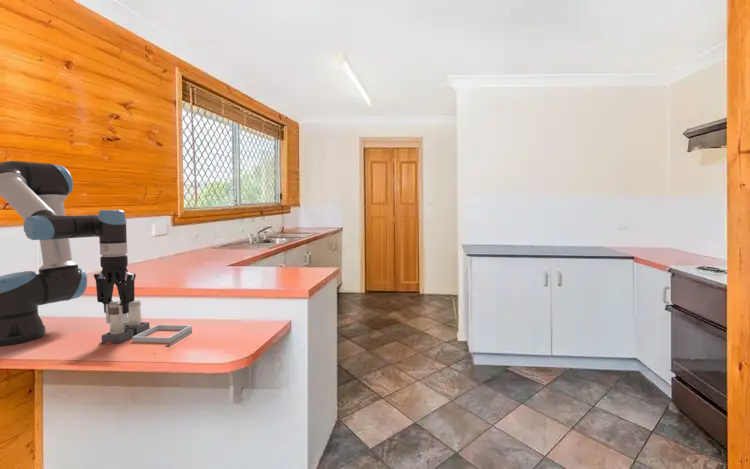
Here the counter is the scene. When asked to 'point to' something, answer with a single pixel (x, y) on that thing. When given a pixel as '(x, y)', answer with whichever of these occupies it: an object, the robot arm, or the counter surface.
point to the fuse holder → (124, 334)
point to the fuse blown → (115, 319)
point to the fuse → (134, 314)
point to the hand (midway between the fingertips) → (117, 322)
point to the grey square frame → (183, 328)
